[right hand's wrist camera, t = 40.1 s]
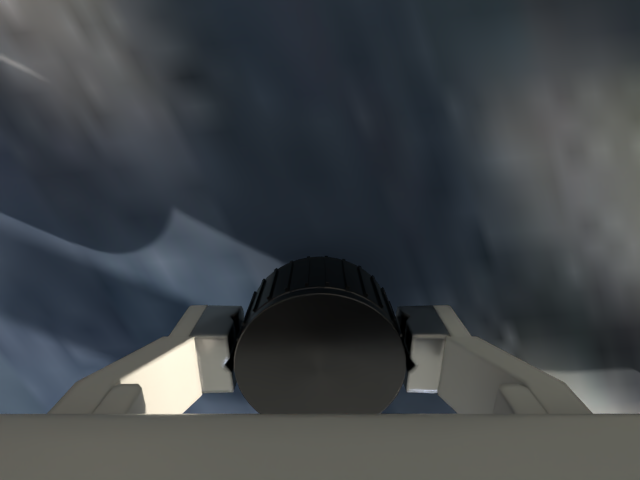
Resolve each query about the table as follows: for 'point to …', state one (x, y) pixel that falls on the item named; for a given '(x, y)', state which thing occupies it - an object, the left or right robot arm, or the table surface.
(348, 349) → the cap
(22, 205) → the table surface
